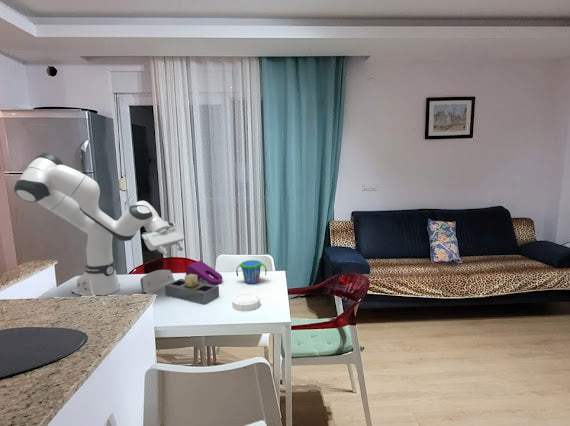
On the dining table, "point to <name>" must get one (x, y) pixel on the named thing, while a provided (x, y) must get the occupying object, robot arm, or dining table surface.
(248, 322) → the dining table surface
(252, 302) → the mooncake
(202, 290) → the grey rectangular block
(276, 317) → the dining table surface
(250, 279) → the snack cup
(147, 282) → the hinge
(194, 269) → the mounting bracket
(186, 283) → the brass peg
